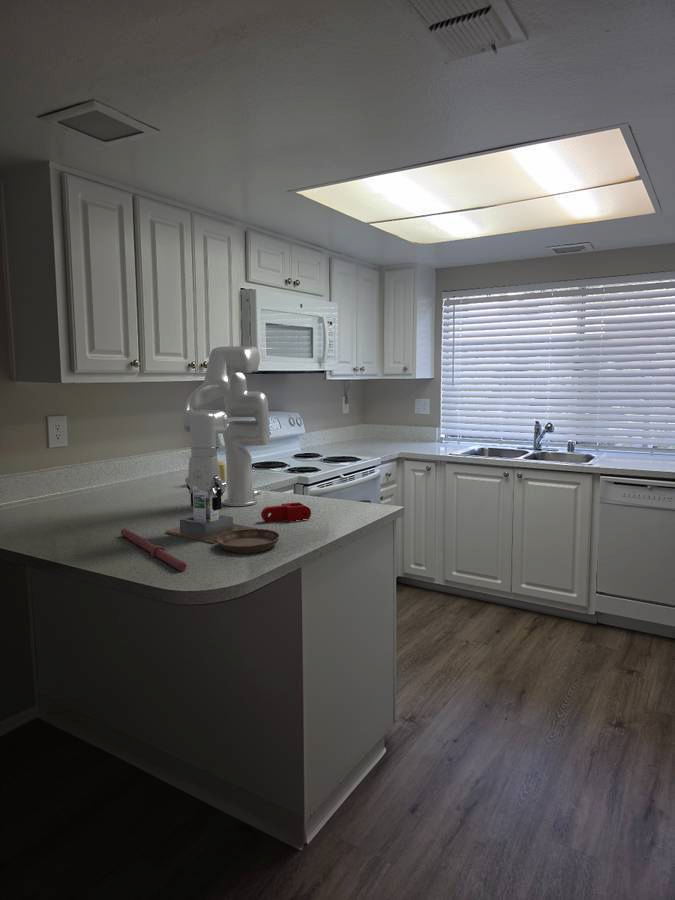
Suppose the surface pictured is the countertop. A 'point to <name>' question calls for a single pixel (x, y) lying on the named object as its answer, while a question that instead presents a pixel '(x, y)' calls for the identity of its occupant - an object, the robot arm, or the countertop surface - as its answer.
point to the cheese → (222, 470)
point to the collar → (206, 528)
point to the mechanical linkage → (286, 512)
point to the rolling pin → (154, 550)
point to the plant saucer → (248, 540)
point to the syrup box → (203, 506)
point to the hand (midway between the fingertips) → (206, 507)
